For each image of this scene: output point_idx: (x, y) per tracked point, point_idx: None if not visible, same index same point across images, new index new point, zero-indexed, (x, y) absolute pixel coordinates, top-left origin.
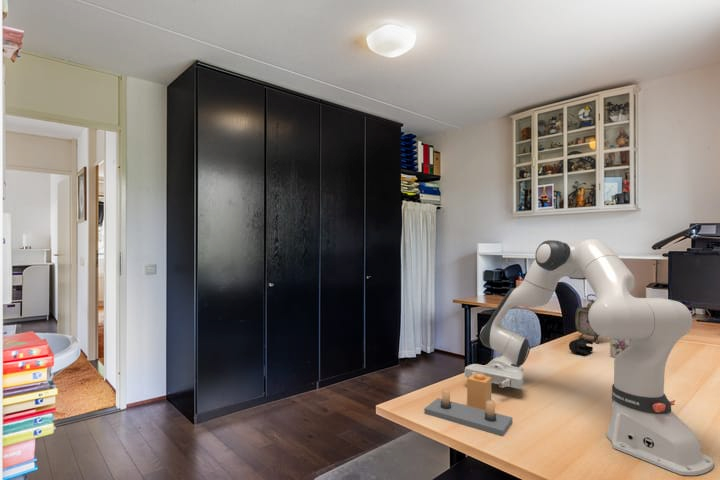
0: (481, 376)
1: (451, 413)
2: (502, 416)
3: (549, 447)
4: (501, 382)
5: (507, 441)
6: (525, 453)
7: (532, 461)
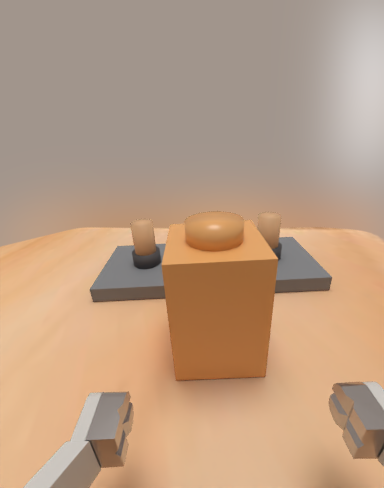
0: (195, 214)
1: None
2: (118, 281)
3: (32, 265)
4: (106, 395)
5: (111, 250)
6: (84, 242)
7: (78, 236)
